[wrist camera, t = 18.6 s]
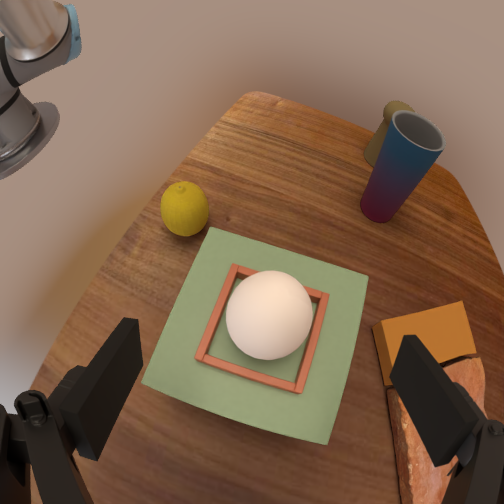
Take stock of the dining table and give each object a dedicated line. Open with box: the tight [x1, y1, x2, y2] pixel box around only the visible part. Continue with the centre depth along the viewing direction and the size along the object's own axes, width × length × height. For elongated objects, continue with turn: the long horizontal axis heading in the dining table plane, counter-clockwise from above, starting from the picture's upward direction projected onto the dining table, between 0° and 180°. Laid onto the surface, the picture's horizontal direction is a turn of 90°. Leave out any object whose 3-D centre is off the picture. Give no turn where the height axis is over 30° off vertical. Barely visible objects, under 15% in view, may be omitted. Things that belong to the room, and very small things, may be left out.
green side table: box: [141, 227, 368, 445], centre depth 27 cm, size 14×14×12 cm
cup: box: [360, 110, 446, 223], centre depth 35 cm, size 7×7×15 cm
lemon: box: [160, 181, 209, 236], centre depth 35 cm, size 6×6×8 cm
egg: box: [226, 270, 313, 360], centre depth 19 cm, size 5×5×8 cm
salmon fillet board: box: [372, 301, 488, 504], centre depth 26 cm, size 13×30×3 cm, turn 8°
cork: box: [364, 101, 415, 167], centre depth 42 cm, size 6×6×11 cm
